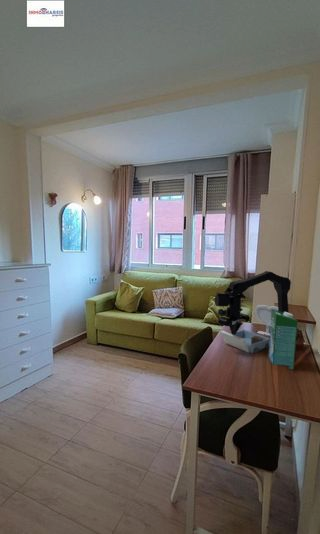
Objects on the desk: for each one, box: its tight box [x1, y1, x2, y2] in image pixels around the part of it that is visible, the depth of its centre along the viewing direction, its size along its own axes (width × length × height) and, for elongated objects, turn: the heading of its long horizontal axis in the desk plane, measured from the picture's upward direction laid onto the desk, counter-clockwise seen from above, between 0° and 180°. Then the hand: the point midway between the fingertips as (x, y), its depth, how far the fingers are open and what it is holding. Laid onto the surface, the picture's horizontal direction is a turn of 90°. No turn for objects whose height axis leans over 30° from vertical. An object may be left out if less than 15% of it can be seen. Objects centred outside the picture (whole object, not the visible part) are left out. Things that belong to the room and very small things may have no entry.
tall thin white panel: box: [220, 330, 249, 353], centre depth 130 cm, size 14×1×9 cm
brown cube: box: [251, 336, 263, 344], centre depth 134 cm, size 4×4×4 cm
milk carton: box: [267, 309, 299, 370], centre depth 116 cm, size 9×9×25 cm
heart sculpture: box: [254, 304, 278, 337], centre depth 156 cm, size 16×5×18 cm, turn 61°
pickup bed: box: [230, 329, 270, 354], centre depth 136 cm, size 19×16×6 cm
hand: (233, 335), depth 129 cm, fingers closed
